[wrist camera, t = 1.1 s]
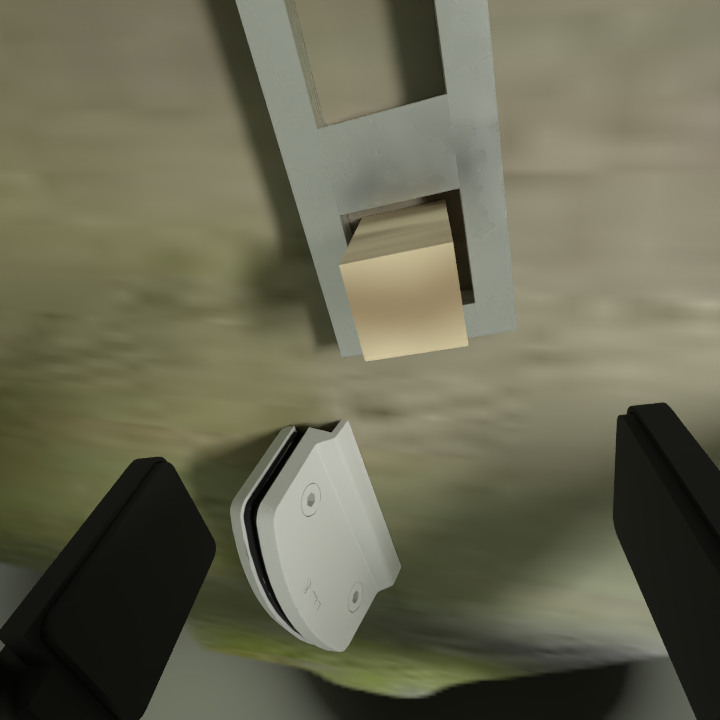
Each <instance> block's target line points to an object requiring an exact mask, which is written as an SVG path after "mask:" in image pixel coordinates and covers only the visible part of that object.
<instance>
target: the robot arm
mask: <svg viewBox="0 0 720 720" xmlns="http://www.w3.org/2000/svg"><path fill="white" fill-rule="evenodd" d="M613 521H614V527H615V530H616V534H617V536H618V539H619V541H620V543H621V546H622V548H623V550H624V553H625V555H626V557H627V560H628V562H629V564H630V566H631V569H632V571H633V573H634V576H635V578H636V580H637V583H638V585H639V587H640V590H641V592H642V594H643V596H644V599H645V601H646V603H647V606H648V608H649V610H650V613H651V615H652V617H653V620H654V622H655V624H656V627H657V629H658V631H659V633H660V636H661V638H662V640H663V643H664V645H665V647H666V650H667V652H668V654H669V657H670V659H671V661H672V663H673V666H674V668H675V670H676V673H677V675H678V677H679V680H680V682H681V684H682V687H683V689H684V691H685V693H686V696H687V698H688V700H689V703H690V705H691V707H692V710H693V712H694V714H695V717H696V719H697V720H720V471H719V470H718V468H717V467H716V466H715V464H714V463H713V462H712V461H711V459H710V458H709V457H708V455H707V454H706V453H705V452H704V450H703V449H702V448H701V446H700V445H699V444H698V442H697V441H696V440H695V439H694V437H693V436H692V435H691V433H690V432H689V431H688V430H687V428H686V427H685V426H684V424H683V423H682V422H681V421H680V419H679V418H678V417H677V415H676V414H675V413H674V411H673V410H672V409H671V408H670V407H669V406H668V405H667V404H666V403H654V404H645V405H635V406H630V407H629V408H628V410H627V414H626V415H619V416H618V418H617V432H616V455H615V479H614V503H613ZM215 552H216V544H215V541H214V538H213V537H212V535H211V533H210V531H209V529H208V528H207V526H206V524H205V522H204V520H203V519H202V517H201V515H200V513H199V511H198V509H197V508H196V506H195V504H194V502H193V500H192V499H191V497H190V495H189V493H188V491H187V490H186V488H185V486H184V484H183V482H182V481H181V479H180V477H179V475H178V473H177V472H176V470H175V468H174V466H173V465H172V464H171V463H169V462H167V461H166V460H165V459H164V458H163V457H151V458H141V459H136V460H134V461H133V462H132V463H131V464H130V465H129V466H128V467H127V469H126V470H125V471H124V472H123V474H122V475H121V476H120V478H119V479H118V480H117V481H116V483H115V484H114V485H113V487H112V488H111V489H110V490H109V492H108V493H107V494H106V495H105V497H104V498H103V499H102V501H101V502H100V503H99V504H98V506H97V507H96V508H95V509H94V511H93V512H92V513H91V515H90V516H89V517H88V518H87V520H86V521H85V522H84V523H83V525H82V526H81V527H80V529H79V530H78V531H77V532H76V534H75V535H74V536H73V538H72V539H71V540H70V541H69V543H68V544H67V545H66V546H65V548H64V549H63V550H62V552H61V553H60V554H59V555H58V557H57V558H56V559H55V560H54V562H53V563H52V564H51V566H50V567H49V568H48V569H47V571H46V572H45V573H44V575H43V576H42V577H41V578H40V580H39V581H38V582H37V583H36V585H35V586H34V587H33V589H32V590H31V591H30V592H29V594H28V595H27V596H26V598H25V599H24V600H23V601H22V603H21V604H20V605H19V606H18V608H17V609H16V610H15V612H14V613H13V614H12V615H11V617H10V618H9V619H8V621H7V622H6V623H5V624H4V626H3V627H2V628H1V629H0V640H1V641H2V642H3V643H4V644H5V647H4V648H3V649H2V651H1V652H0V720H139V719H140V718H141V717H142V716H143V714H144V712H145V710H146V709H147V706H148V704H149V702H150V700H151V697H152V695H153V693H154V691H155V689H156V686H157V684H158V682H159V680H160V677H161V675H162V673H163V671H164V668H165V666H166V664H167V662H168V660H169V657H170V655H171V653H172V651H173V648H174V646H175V644H176V642H177V639H178V637H179V635H180V633H181V631H182V628H183V626H184V624H185V622H186V619H187V617H188V615H189V613H190V610H191V608H192V606H193V604H194V601H195V599H196V597H197V595H198V593H199V590H200V588H201V586H202V584H203V581H204V579H205V577H206V575H207V572H208V570H209V568H210V566H211V564H212V561H213V559H214V556H215Z"/></svg>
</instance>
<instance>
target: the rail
mask: <svg viewBox="0 0 720 720" xmlns="http://www.w3.org/2000/svg"><path fill="white" fill-rule="evenodd" d="M235 1H236V4H237V7H238V11H239V14H240V17H241V21H242V24H243V27H244V31H245V34H246V37H247V41H248V44H249V47H250V51H251V54H252V57H253V61H254V64H255V68H256V71H257V74H258V78H259V81H260V84H261V88H262V91H263V94H264V98H265V101H266V104H267V108H268V111H269V114H270V118H271V121H272V124H273V128H274V131H275V134H276V138H277V141H278V145H279V148H280V151H281V155H282V158H283V161H284V165H285V168H286V171H287V175H288V178H289V181H290V185H291V188H292V191H293V195H294V198H295V201H296V205H297V208H298V211H299V215H300V218H301V222H302V225H303V228H304V232H305V235H306V238H307V242H308V245H309V248H310V252H311V255H312V258H313V262H314V265H315V268H316V272H317V275H318V278H319V282H320V285H321V288H322V292H323V295H324V299H325V302H326V305H327V309H328V312H329V315H330V319H331V322H332V325H333V329H334V332H335V335H336V339H337V342H338V345H339V349H340V352H341V355H342V357H348V356H354V355H361V354H363V351H362V348H361V344H360V340H359V337H358V333H357V329H356V326H355V322H354V318H353V315H352V311H351V307H350V304H349V300H348V296H347V293H346V289H345V285H344V282H343V278H342V274H341V271H340V267H339V264H340V262H341V260H342V258H343V256H344V254H345V252H346V250H347V248H348V245H349V243H350V241H351V239H352V237H353V236H352V232H351V228H350V224H349V220H348V216H347V214H349V213H353V212H358V211H362V210H366V209H371V208H375V207H380V206H384V205H388V204H393V203H397V202H401V201H406V200H410V199H415V198H419V197H423V196H428V195H432V194H437V193H441V192H445V191H450V190H454V189H459V197H460V204H461V212H462V219H463V226H464V234H465V241H466V248H467V256H468V263H469V271H470V278H471V285H472V289H471V290H465V291H460V292H461V299H462V305H463V312H464V319H465V326H466V332H467V338H469V337H476V336H482V335H488V334H495V333H501V332H507V331H514V330H517V323H516V312H515V301H514V290H513V279H512V268H511V257H510V246H509V235H508V224H507V213H506V202H505V191H504V180H503V168H502V157H501V146H500V135H499V124H498V113H497V102H496V91H495V80H494V69H493V58H492V47H491V36H490V25H489V14H488V3H487V0H433V5H434V12H435V20H436V27H437V35H438V42H439V49H440V57H441V64H442V71H443V79H444V86H445V94H442V95H439V96H435V97H431V98H428V99H424V100H420V101H417V102H413V103H409V104H406V105H402V106H398V107H395V108H391V109H387V110H384V111H380V112H376V113H373V114H369V115H365V116H362V117H358V118H355V119H351V120H347V121H344V122H340V123H336V124H333V125H329V126H325V124H324V120H323V116H322V112H321V108H320V104H319V100H318V96H317V92H316V88H315V84H314V80H313V76H312V72H311V68H310V64H309V60H308V56H307V52H306V48H305V44H304V41H303V37H302V33H301V29H300V25H299V21H298V17H297V13H296V9H295V5H294V1H293V0H235Z"/></svg>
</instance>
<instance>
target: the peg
mask: <svg viewBox="0 0 720 720" xmlns="http://www.w3.org/2000/svg"><path fill="white" fill-rule="evenodd" d="M339 267H340V271H341V274H342V278H343V282H344V285H345V289H346V293H347V296H348V300H349V304H350V307H351V311H352V315H353V318H354V322H355V326H356V329H357V333H358V337H359V340H360V344H361V348H362V351H363V355H364V359H365V361H372V360H379V359H385V358H392V357H398V356H405V355H411V354H418V353H424V352H431V351H437V350H444V349H450V348H457V347H463V346H468V339H467V332H466V326H465V319H464V312H463V305H462V299H461V292H460V285H459V278H458V272H457V265H456V258H455V252H454V245H453V239H452V234H451V228H450V223H449V218H448V213H447V208H446V202H445V199H443V200H438V201H434V202H429V203H425V204H420V205H416V206H411V207H407V208H402V209H398V210H394V211H389V212H385V213H380V214H376V215H371V216H367V217H362V219H361V221H360V223H359V225H358V227H357V229H356V231H355V233H354V235H353V237H352V239H351V241H350V243H349V245H348V248H347V250H346V252H345V254H344V256H343V258H342V260H341V262H340V264H339Z"/></svg>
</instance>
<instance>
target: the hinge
mask: <svg viewBox="0 0 720 720" xmlns="http://www.w3.org/2000/svg"><path fill="white" fill-rule="evenodd" d="M230 516H231V522H232V529H233V534H234V538H235V543H236V547H237V551H238V554H239V557H240V561H241V564H242V566H243V569H244V572H245V575H246V577H247V579H248V581H249V584H250V586H251V588H252V590H253V592H254V593H255V595H256V597H257V599H258V600H259V602H260V603H261V605H262V606H263V608H264V609H265V610H266V611H267V612H268V614H269V615H270V616H271V617H272V618H273V619H274V620H275V621H276V622H277V623H278V624H280V625H281V626H282V627H283V628H285V629H286V630H287V631H289V632H290V633H291V634H293V635H294V636H296V637H297V638H298V639H300V640H302V641H304V642H307V643H309V644H313V645H315V646H317V647H319V648H322V649H324V650H328V651H337V652H343V651H344V650H345V649H346V648H347V647H348V645H349V644H350V642H351V640H352V638H353V636H354V634H355V633H356V631H357V629H358V627H359V625H360V623H361V621H362V620H363V618H364V616H365V614H366V612H367V610H368V609H369V607H370V605H371V603H372V601H373V599H374V598H375V596H376V594H377V593H378V592H379V591H381V590H383V589H386V588H388V587H390V586H392V585H393V584H394V583H395V580H396V578H397V576H398V573H399V571H400V569H401V564H400V561H399V559H398V556H397V553H396V550H395V548H394V545H393V542H392V540H391V537H390V534H389V531H388V529H387V526H386V523H385V520H384V518H383V515H382V512H381V509H380V507H379V504H378V501H377V498H376V496H375V493H374V490H373V487H372V485H371V482H370V479H369V477H368V474H367V471H366V468H365V466H364V463H363V460H362V457H361V455H360V452H359V449H358V446H357V444H356V441H355V438H354V435H353V433H352V430H351V427H350V424H349V422H348V420H341V421H340V422H339V423H338V425H337V426H336V427H335V429H334V430H333V431H332V432H327V431H323V430H319V429H315V428H311V427H309V428H308V430H307V431H306V433H303V434H302V436H301V437H300V434H299V432H297V431H296V429H295V426H288V427H285V428H283V429H281V431H280V432H279V434H278V435H277V437H276V438H275V439H274V441H273V442H272V444H271V445H270V447H269V448H268V450H267V451H266V453H265V454H264V455H263V457H262V458H261V460H260V461H259V463H258V464H257V466H256V467H255V468H254V470H253V471H252V473H251V474H250V476H249V477H248V479H247V480H246V482H245V483H244V484H243V486H242V487H241V489H240V490H239V492H238V493H237V495H236V496H235V498H234V499H233V501H232V504H231V508H230Z"/></svg>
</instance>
